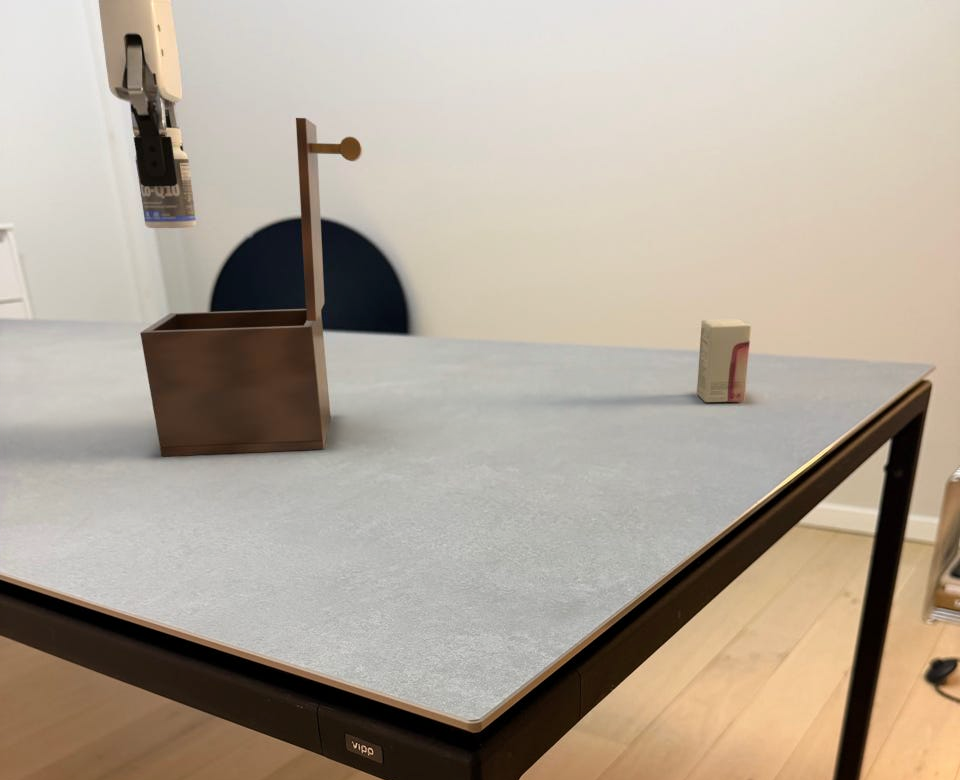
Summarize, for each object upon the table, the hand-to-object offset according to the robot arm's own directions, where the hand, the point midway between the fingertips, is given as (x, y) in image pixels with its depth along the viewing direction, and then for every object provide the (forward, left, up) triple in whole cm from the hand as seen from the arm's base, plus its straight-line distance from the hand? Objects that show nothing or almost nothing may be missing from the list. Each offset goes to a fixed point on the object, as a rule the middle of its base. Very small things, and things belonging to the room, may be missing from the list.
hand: (165, 183), depth 90 cm
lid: (+14, -9, -3) cm, 16 cm away
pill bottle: (0, 0, -4) cm, 4 cm away
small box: (+55, -1, -22) cm, 60 cm away
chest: (+6, -9, -22) cm, 25 cm away
